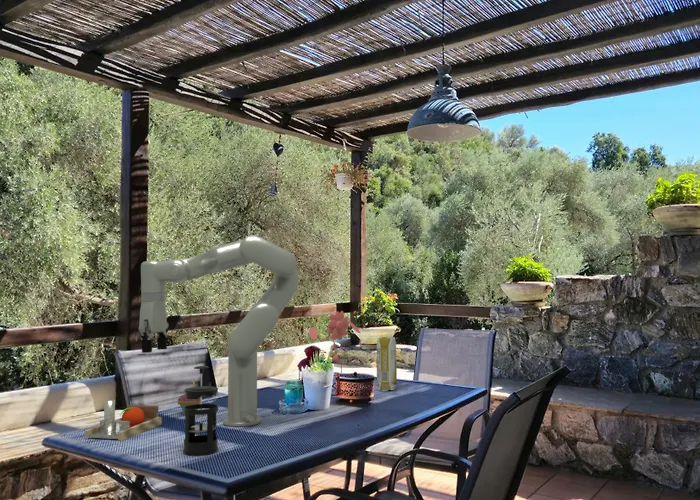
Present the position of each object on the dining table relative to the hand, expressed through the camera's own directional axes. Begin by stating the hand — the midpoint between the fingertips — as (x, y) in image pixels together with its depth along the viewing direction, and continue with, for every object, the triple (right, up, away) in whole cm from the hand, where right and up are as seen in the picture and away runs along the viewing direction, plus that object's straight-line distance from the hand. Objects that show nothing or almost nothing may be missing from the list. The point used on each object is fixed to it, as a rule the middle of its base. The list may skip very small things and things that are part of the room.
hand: (154, 350), depth 195 cm
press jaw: (-8, -23, -15) cm, 29 cm away
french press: (+23, -22, -32) cm, 45 cm away
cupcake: (+6, -26, +19) cm, 33 cm away
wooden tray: (-7, -24, -8) cm, 26 cm away
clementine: (-6, -24, -5) cm, 26 cm away
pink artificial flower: (+59, -28, +57) cm, 87 cm away
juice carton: (+80, -29, +66) cm, 108 cm away
